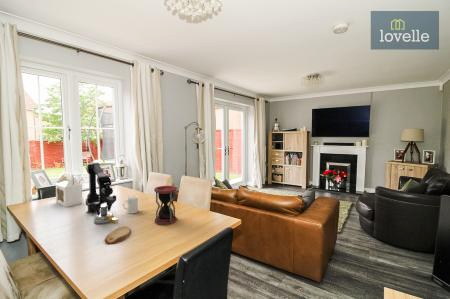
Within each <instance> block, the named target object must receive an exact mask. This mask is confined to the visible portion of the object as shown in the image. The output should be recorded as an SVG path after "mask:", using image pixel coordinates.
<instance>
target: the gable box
mask: <svg viewBox="0 0 450 299" xmlns="http://www.w3.org/2000/svg"><path fill="white" fill-rule="evenodd" d="M74 176H75V174H73V173H70V172H68V171H67V172H66V171H64V174H62V175H61V176H60V178H59V179H58V180H57V181H56V183H55V202H56V204H59V205H61V206H63V207H65V208H68V207H72V206H77V205H79V204H80V205H81V204H83V185H82V183H81V182H79V180H78V179H77V177H74ZM67 206H68V207H67Z"/></svg>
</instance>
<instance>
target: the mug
mask: <svg viewBox="0 0 450 299" xmlns="http://www.w3.org/2000/svg"><path fill="white" fill-rule="evenodd" d="M138 199H139V197H138V196H137V195H136V196H135V195H133V196H132V195H131V196H127V198H126V200H125V201H124V202H123V203H122V206H123V209H124V210H126V211H127V212H126V213H127V214H136V213H138V212H139V200H138ZM125 203H126V205H127V208H126V207H125Z"/></svg>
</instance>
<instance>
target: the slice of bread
mask: <svg viewBox="0 0 450 299" xmlns="http://www.w3.org/2000/svg"><path fill="white" fill-rule="evenodd" d="M131 231H132V230H131V228H130V227H129V226H125V225H124V226H123V225H122V226H119V227H117V228H115V229H113V230H112V231H111V232H109V233H108V234H107V235H106V236H105V238H104V242H105V244H106V245H114V244H117V243H120V242H122V241H124V240H126V239H127V238H129V237H130V235H131V233H132V232H131Z"/></svg>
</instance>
